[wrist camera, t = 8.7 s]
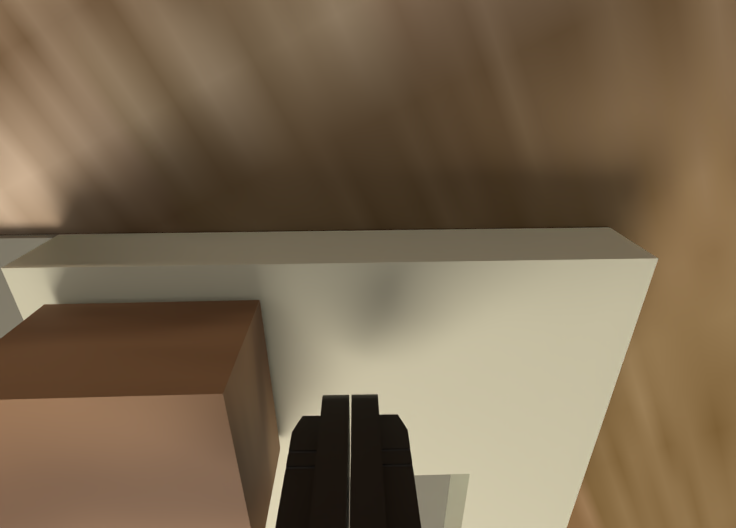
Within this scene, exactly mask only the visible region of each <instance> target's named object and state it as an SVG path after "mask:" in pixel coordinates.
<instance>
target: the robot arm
mask: <svg viewBox="0 0 736 528" xmlns="http://www.w3.org/2000/svg"><path fill="white" fill-rule="evenodd" d="M349 497H350V528H421V521H420V514H419V507H418V500H417V493H416V485H415V478H414V471H413V466H412V457H411V452H410V442H409V435H408V429H407V428H406V426H405V425H404V423H403V422H402V420H401V419H400V417H399V415H398V414H381V415H379V403H378V394H353V395H352V396H351V461H350V402H349V395H323V396H322V405H321V414H320V416H302V417H301V419H300V420H299V422H298V423H297V425H296V426H295V428H294V429H293V431H292V434H291V440H290V445H289V454H288V457H287V463H286V470H285V474H284V480H283V486H282V492H281V497H280V503H279V509H278V515H277V520H276V526H275V528H349Z"/></svg>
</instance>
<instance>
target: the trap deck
mask: <svg viewBox="0 0 736 528" xmlns="http://www.w3.org/2000/svg"><path fill="white" fill-rule="evenodd" d="M657 261H658V258H657V257H655V256H654V255H652V254H651V253H649V252H647V251H646V250H644V249H643V248H641V247H640V246H638V245H637V244H635V243H633V242H632V241H630V240H629V239H627V238H626V237H624V236H622V235H621V234H619V233H618V232H616V231H615V230H613V229H612V228H610V227H600V228H521V229H442V230H363V231H284V232H205V233H126V234H47V235H0V339H1V338H2V337H3V336H4V335H6V334H7V333H8V332H10V331H11V330H12V329H13V328H15V327H16V326H17V325H18V324H20V323H21V322H22V321H24V320H25V319H26V318H27V317H29V316H30V315H31V314H33V313H34V312H35V311H36V310H38V309H39V308H40V307H42V306H43V305H44V304H87V303H136V302H184V301H233V300H260V305H261V313H262V320H263V327H264V334H265V341H266V349H267V356H268V363H269V370H270V377H271V385H272V392H273V399H274V406H275V413H276V421H277V428H278V435H279V442H280V453H279V458H278V463H277V469H276V474H275V479H274V485H273V490H272V495H271V500H270V506H269V511H268V516H267V522H266V527H265V528H275V526H276V520H277V515H278V509H279V503H280V497H281V492H282V486H283V480H284V474H285V470H286V463H287V457H288V454H289V445H290V440H291V434H292V431H293V429H294V428H295V426H296V425H297V423H298V422H299V420H300V419H301V417H302V416H320V414H321V405H322V396H323V395H349V402H350V461H351V396H352V395H353V394H378V403H379V415H381V414H398V415H399V417H400V419H401V420H402V422H403V423H404V425H405V426H406V428H407V429H408V435H409V442H410V452H411V457H412V466H413V471H414V478H415V485H416V493H417V500H418V507H419V514H420V521H421V528H567V525H568V522H569V519H570V516H571V513H572V510H573V507H574V504H575V501H576V498H577V495H578V493H579V490H580V487H581V484H582V481H583V478H584V475H585V472H586V469H587V466H588V463H589V460H590V457H591V454H592V451H593V448H594V446H595V443H596V440H597V437H598V434H599V431H600V428H601V425H602V422H603V419H604V416H605V413H606V410H607V407H608V404H609V402H610V399H611V396H612V393H613V390H614V387H615V384H616V381H617V378H618V375H619V372H620V369H621V366H622V363H623V360H624V358H625V355H626V352H627V349H628V346H629V343H630V340H631V337H632V334H633V331H634V328H635V325H636V322H637V319H638V316H639V313H640V311H641V308H642V305H643V302H644V299H645V296H646V293H647V290H648V287H649V284H650V281H651V278H652V275H653V272H654V269H655V267H656V264H657ZM349 528H350V497H349Z"/></svg>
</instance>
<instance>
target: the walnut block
mask: <svg viewBox="0 0 736 528" xmlns="http://www.w3.org/2000/svg"><path fill="white" fill-rule="evenodd" d="M279 453H280V442H279V435H278V428H277V421H276V413H275V406H274V399H273V392H272V385H271V377H270V370H269V363H268V356H267V349H266V341H265V334H264V327H263V320H262V313H261V305H260V300H233V301H184V302H136V303H87V304H44V305H43V306H42V307H40V308H39V309H38V310H36V311H35V312H34V313H33V314H31V315H30V316H29V317H27V318H26V319H25V320H24V321H22V322H21V323H20V324H18V325H17V326H16V327H15V328H13V329H12V330H11V331H10V332H8V333H7V334H6V335H4V336H3V337H2V338H1V339H0V528H265V527H266V522H267V516H268V511H269V506H270V500H271V495H272V490H273V485H274V479H275V474H276V469H277V463H278V458H279Z"/></svg>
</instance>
